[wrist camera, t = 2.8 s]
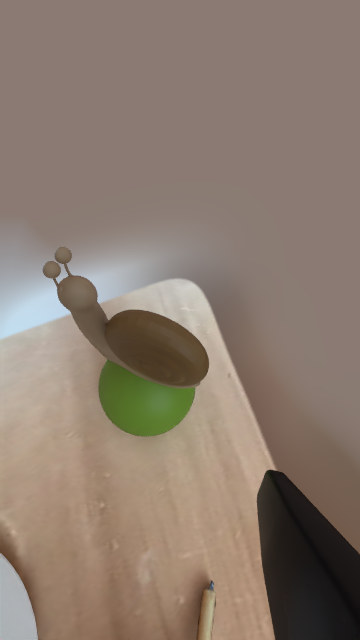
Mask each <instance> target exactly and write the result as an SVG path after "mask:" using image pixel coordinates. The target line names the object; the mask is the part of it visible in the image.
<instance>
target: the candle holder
mask: <svg viewBox="0 0 360 640" xmlns="http://www.w3.org/2000/svg"><path fill="white" fill-rule="evenodd" d="M0 640H38V635H37V628H36V622H35V617H34V612H33V609H32V605H31V602H30V599H29V596H28V593H27V591H26V589H25V586H24V584H23V582H22V580H21V579H20V577H19V575H18V573H17V572H16V570H15V569H14V568H13V566H12V565H11V564H10V562H9V561H8V560H7V559H6V558H5V557H4V556H3V555H2V554H1V553H0Z"/></svg>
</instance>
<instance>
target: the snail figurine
mask: <svg viewBox="0 0 360 640" xmlns="http://www.w3.org/2000/svg"><path fill="white" fill-rule="evenodd" d="M71 258H72V254H71V252H70V250H68V249H67V248H66V247H60V248H58V249H57V251H56V252H55V259H56V261H58V262H59V263H62V264H64V266H65V269H66V271H67V273H68V275H69V276H68V277H66V278H64V279H63V280H62V281H61V282H60V283H59V284H58V283H57V281H56V279H55V278H56V277H58V276H59V274H60V272H61V269H60V266H59V265H58V264H57V263H56V262H53V261H49V262H47V263H46V264H45V265H44V267H43V273H44V275H45V276H46V277H48V278H53V280H54V282H55V284H56V286H57V293H58V298H59V300H60V302H61V303H62V304H63V305H64V306H65V307H66V308H67V309H68V310H70V312H71V314H72V316H73V318H74V320H75V322H76V324H77V326H78V327H79V329H80V330H81V332H82V333H83V334H84V336H85V337H86V338H87V339H88V340H89V341H90V343H91V344H92V345H93V346H94V347H95V348H96V349H97V350H98V351H99V352H100V353H101V354H102V355H103V356H105V357H106V358H107V359H108V360H107V361H106V363H105V365H104V367H103V369H102V372H101V375H100V379H99V398H100V402H101V405H102V408H103V410H104V412H105V413H106V415H107V416H108V418H109V419H110V420H111V421H112V422H113V423H114V424H115V425H116V426H117V427H118V428H120V429H121V430H123V431H125V432H127V433H130V434H133V435H137V436H155V435H159V434H162V433H165V432H167V431H169V430H170V429H172V428H174V427H175V426H176V425H177V424H179V423H180V422H181V421H182V420H183V418H184V417H185V416H186V414H187V413H188V411H189V409H190V407H191V405H192V402H193V399H194V394H195V387H197V386H199V385H200V381H201V380H203V379H204V377H205V376H206V374H207V372H208V369H209V359H208V355H207V353H206V350H205V348H204V347H203V345H202V344H201V343H200V341H199V340H198V339H197V338H196V337H195V336H194V335H193V334H192V333H190V332H189V331H188V330H187V329H185V328H184V327H182V326H181V325H179V324H178V323H176V322H174V321H172V320H170V319H168V318H166V317H164V316H161V315H159V314H156V313H152V312H149V311H143V310H126V311H122V312H120V313H118V314H116V315H115V316H113V317H112V318H111V319H110V321H108V319H107V317H106V315H105V313H104V311H103V310H102V308H101V307H100V305H99V304H98V302H97V291H96V288H95V287H94V285H93V284H92V283H91V282H90V281H89V280H88V279H86V278H84V277H81V276H73V275H71V273H70V272H69V270H68V267H67V265H66V263H68V262H69V261H70V260H71Z"/></svg>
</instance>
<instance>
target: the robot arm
mask: <svg viewBox="0 0 360 640" xmlns="http://www.w3.org/2000/svg"><path fill="white" fill-rule="evenodd" d="M257 509H258V521H259V533H260V545H261V557H262V567H263V573H264V579H265V585H266V590H267V596H268V602H269V607H270V613H271V618H272V624H273V629H274V635H275V640H360V554H359V553H358V552H357V551H356V550H355V549H354V548H353V547H352V546H351V545H350V544H349V542H348V541H347V540H346V539H345V538H344V537H343V536H342V535H341V534H340V533H339V532H338V531H337V530H336V529H335V528H334V527H333V525H332V524H331V523H330V522H329V521H328V520H327V519H326V518H325V517H324V516H323V515H322V514H321V513H320V512H319V511H318V509H317V508H316V507H315V506H314V505H313V504H312V503H311V502H310V501H309V500H308V499H307V498H306V497H305V495H303V493H302V492H301V491H300V490H299V489H298V488H297V487H296V486H295V485H294V484H293V483H292V482H291V481H290V480H289V479H288V478H287V476H286V475H285V474H284V473H282V472H278V471H274V470H267V471H266V473H265V475H264V478H263V481H262V483H261V486H260V489H259V492H258V495H257Z"/></svg>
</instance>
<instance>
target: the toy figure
mask: <svg viewBox="0 0 360 640" xmlns="http://www.w3.org/2000/svg"><path fill="white" fill-rule="evenodd" d="M213 585H214V583H213V581H211V584H210V586H209V589H204V591H203V595H202V603H201V610H200V616H199V621H198V633H197V640H211V634H212V627H213V620H214V610H215V606H216V592H215V591H214V590H213Z"/></svg>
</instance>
